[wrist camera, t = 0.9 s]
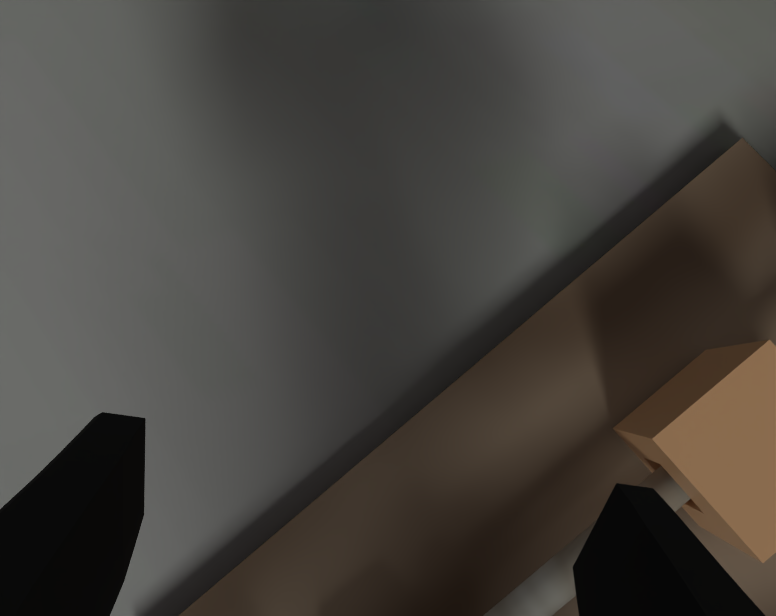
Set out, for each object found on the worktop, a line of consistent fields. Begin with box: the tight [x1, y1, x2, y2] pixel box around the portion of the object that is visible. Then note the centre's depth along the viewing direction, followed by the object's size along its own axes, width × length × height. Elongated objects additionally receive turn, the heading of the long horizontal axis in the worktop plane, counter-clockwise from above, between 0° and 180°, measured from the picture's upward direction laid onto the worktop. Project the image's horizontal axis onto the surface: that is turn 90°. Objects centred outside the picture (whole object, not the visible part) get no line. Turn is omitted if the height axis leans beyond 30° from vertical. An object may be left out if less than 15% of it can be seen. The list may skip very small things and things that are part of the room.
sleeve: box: [613, 340, 776, 563], centre depth 20 cm, size 4×4×5 cm
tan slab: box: [179, 138, 776, 616], centre depth 22 cm, size 13×28×5 cm, turn 131°
